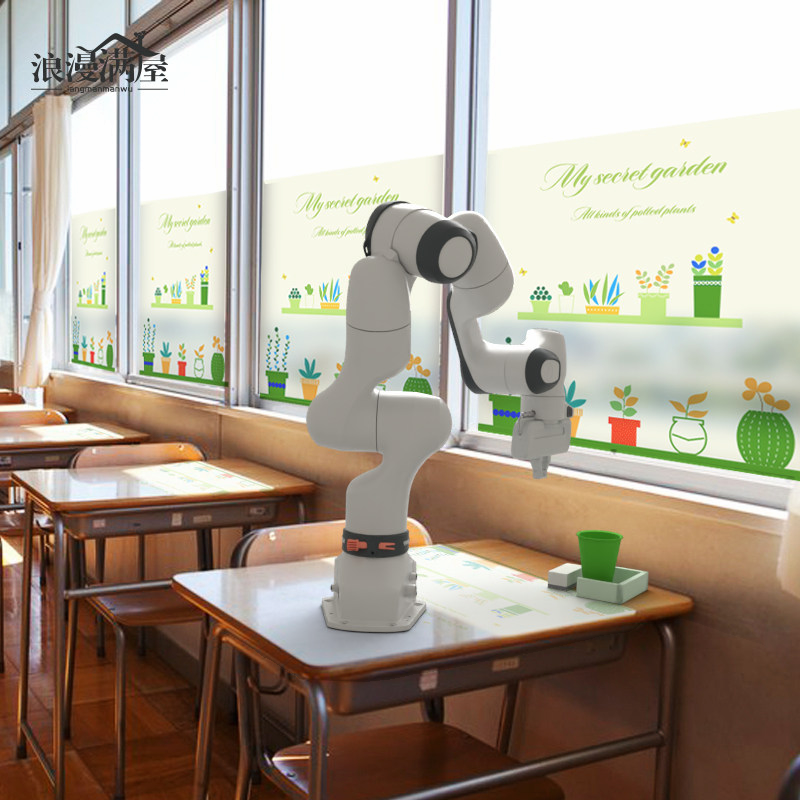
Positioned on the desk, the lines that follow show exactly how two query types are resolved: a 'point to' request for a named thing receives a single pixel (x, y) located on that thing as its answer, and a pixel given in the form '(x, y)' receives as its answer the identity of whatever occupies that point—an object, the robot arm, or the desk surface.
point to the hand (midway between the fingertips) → (539, 478)
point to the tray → (614, 586)
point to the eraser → (564, 576)
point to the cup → (598, 553)
